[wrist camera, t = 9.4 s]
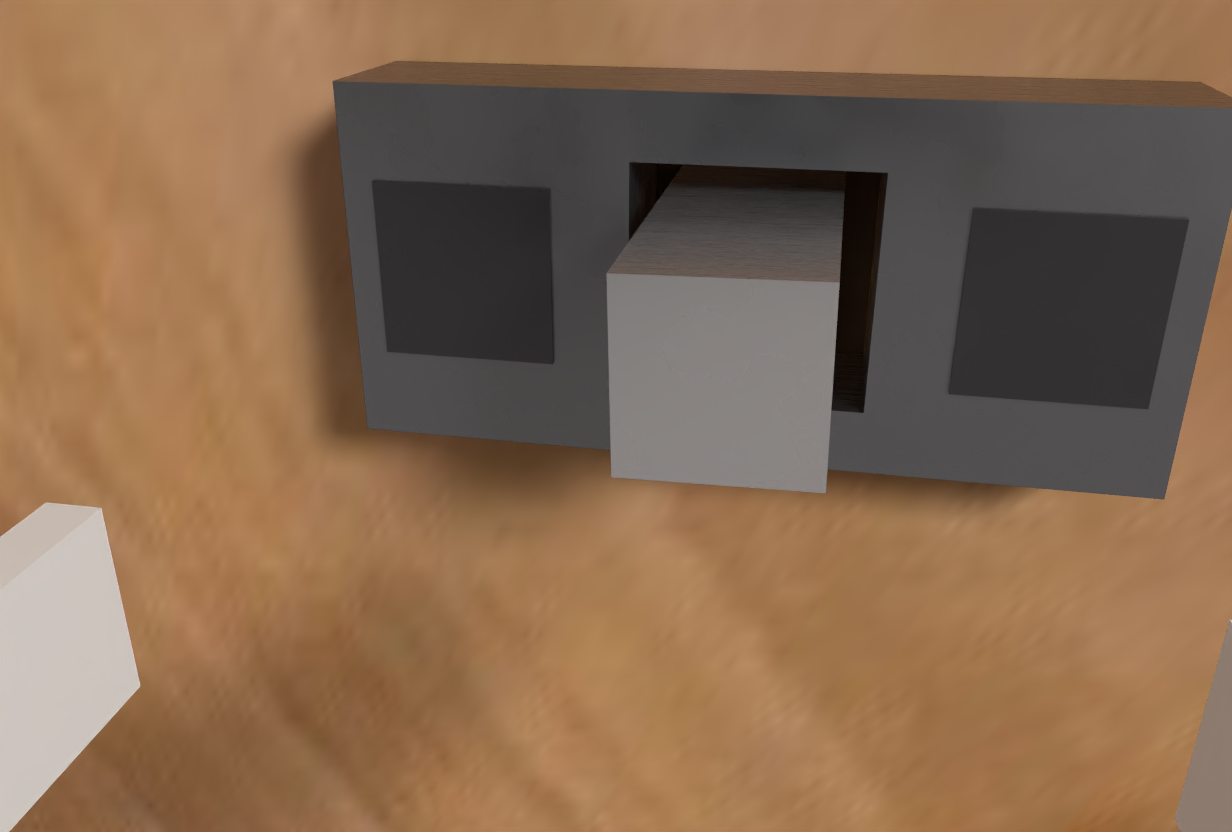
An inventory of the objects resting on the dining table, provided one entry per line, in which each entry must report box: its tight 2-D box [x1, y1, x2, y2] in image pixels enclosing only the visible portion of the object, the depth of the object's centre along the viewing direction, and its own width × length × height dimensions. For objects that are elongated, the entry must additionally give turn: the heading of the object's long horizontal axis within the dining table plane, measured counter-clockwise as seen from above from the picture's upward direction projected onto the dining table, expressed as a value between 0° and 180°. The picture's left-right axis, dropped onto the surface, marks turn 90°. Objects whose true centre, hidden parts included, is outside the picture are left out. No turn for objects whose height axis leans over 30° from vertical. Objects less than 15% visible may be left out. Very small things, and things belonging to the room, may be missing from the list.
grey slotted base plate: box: [333, 61, 1232, 499], centre depth 28 cm, size 20×9×4 cm, turn 90°
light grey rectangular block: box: [607, 164, 846, 493], centre depth 25 cm, size 4×4×10 cm
